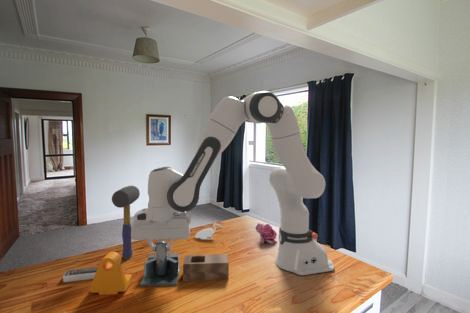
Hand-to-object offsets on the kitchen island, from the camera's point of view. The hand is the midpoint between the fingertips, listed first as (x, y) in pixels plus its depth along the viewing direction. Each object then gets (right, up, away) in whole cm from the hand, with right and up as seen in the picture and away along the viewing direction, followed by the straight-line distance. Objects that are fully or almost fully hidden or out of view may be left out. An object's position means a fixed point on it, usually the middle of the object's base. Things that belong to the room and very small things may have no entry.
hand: (161, 250), depth 92 cm
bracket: (-15, -10, -6) cm, 19 cm away
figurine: (+13, -8, +37) cm, 40 cm away
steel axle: (0, -8, 0) cm, 8 cm away
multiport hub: (-27, -10, +1) cm, 29 cm away
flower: (+42, -8, +37) cm, 57 cm away
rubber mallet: (-19, -9, +15) cm, 26 cm away
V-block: (0, -10, +1) cm, 10 cm away
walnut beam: (+16, -10, +3) cm, 19 cm away
